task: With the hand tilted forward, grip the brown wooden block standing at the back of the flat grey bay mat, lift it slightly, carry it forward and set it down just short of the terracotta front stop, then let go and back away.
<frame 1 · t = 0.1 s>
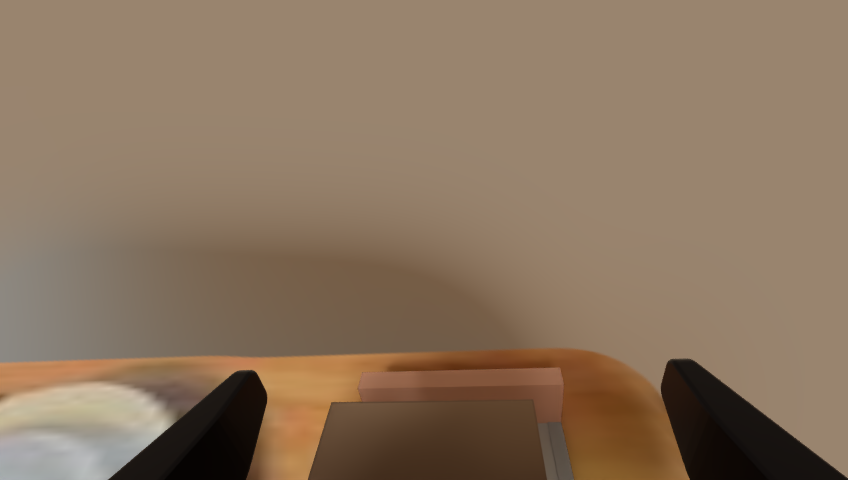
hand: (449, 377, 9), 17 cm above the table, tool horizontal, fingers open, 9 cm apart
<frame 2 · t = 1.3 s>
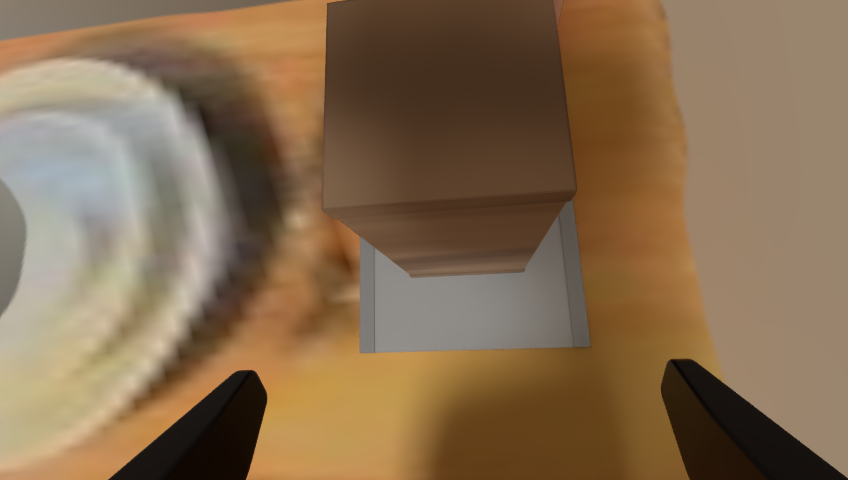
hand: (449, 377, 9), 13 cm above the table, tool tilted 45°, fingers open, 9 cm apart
brown wooden block: (463, 221, 23), resting on bay
bay: (461, 182, 24), on the table
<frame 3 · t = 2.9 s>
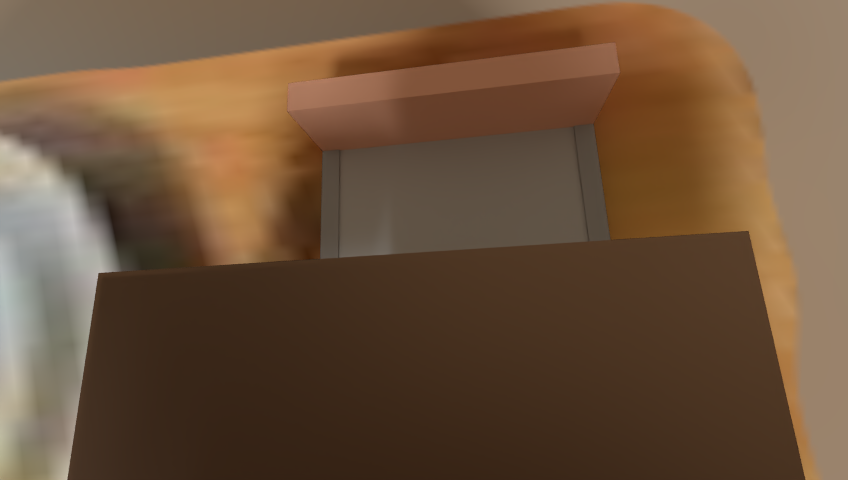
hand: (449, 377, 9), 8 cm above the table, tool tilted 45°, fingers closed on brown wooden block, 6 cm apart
brown wooden block: (467, 396, 16), resting on bay, touching gripper
bay: (463, 329, 17), on the table
when the fingers open (8 cm above the table, at t = 5.8 s): brown wooden block stays where it is, resting on bay.
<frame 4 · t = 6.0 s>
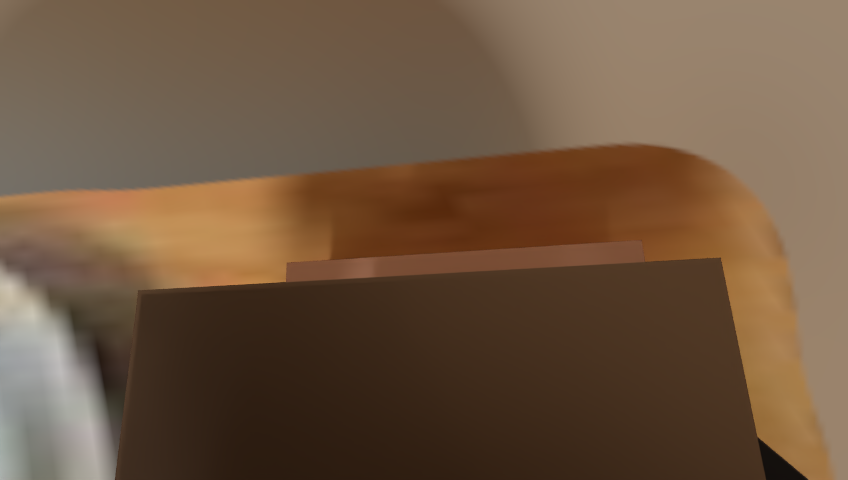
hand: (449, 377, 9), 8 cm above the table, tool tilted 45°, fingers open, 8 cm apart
brown wooden block: (468, 396, 16), resting on bay
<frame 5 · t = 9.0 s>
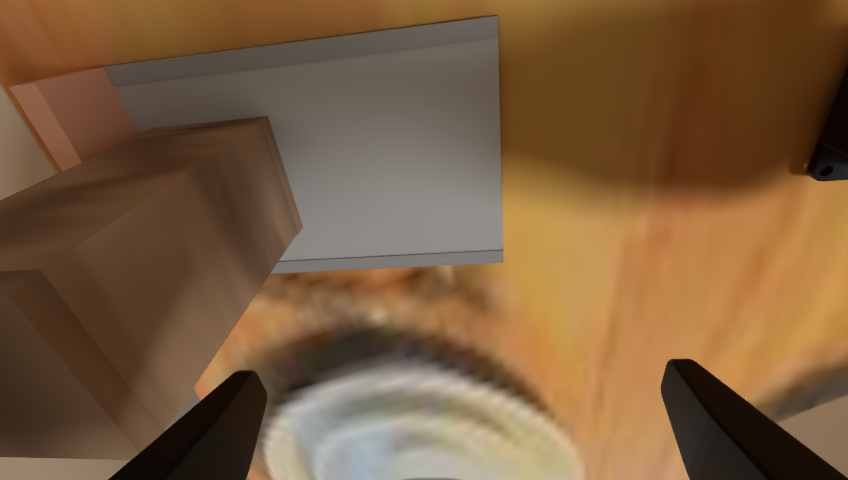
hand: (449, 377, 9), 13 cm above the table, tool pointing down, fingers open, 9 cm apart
brown wooden block: (231, 180, 21), resting on bay
bay: (313, 171, 21), on the table
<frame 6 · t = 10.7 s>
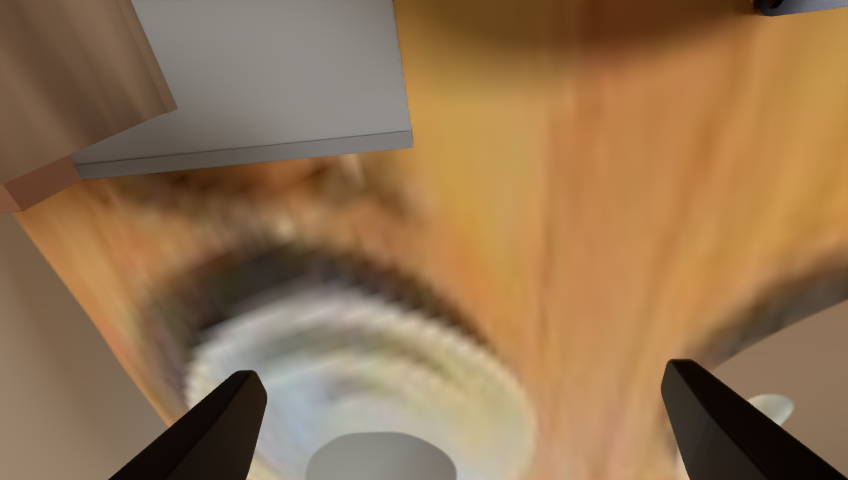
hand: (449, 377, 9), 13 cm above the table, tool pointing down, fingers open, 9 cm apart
brown wooden block: (85, 46, 18), resting on bay
bay: (180, 32, 18), on the table
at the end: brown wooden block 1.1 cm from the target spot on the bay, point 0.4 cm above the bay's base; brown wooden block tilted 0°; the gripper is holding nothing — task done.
